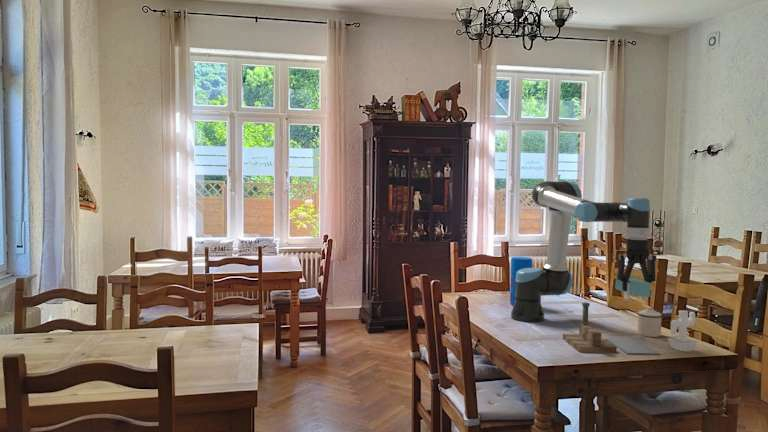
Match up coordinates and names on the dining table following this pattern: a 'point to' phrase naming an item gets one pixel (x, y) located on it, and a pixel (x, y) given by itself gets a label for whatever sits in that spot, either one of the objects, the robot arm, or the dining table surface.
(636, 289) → the mint green knobbed block
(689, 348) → the figurine
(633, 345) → the rubber mat
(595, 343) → the wooden stand with peg
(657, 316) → the teacup with lid
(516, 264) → the tall blue block
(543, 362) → the dining table surface
